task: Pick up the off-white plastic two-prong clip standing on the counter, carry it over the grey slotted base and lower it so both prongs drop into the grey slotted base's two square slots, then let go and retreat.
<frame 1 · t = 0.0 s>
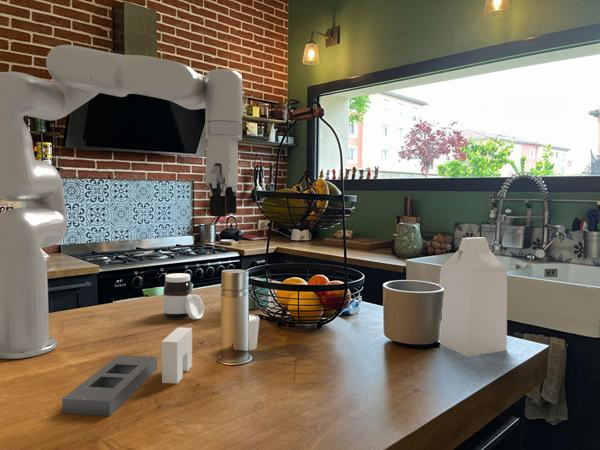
hand: (223, 214, 100), 31 cm above the worktop, tool pointing down, fingers open, 9 cm apart
grey slotted base: (115, 388, 87), on the worktop
clip: (177, 373, 94), on the worktop
spread jar: (184, 317, 135), on the worktop
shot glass: (244, 348, 110), on the worktop
milk: (469, 346, 114), on the worktop
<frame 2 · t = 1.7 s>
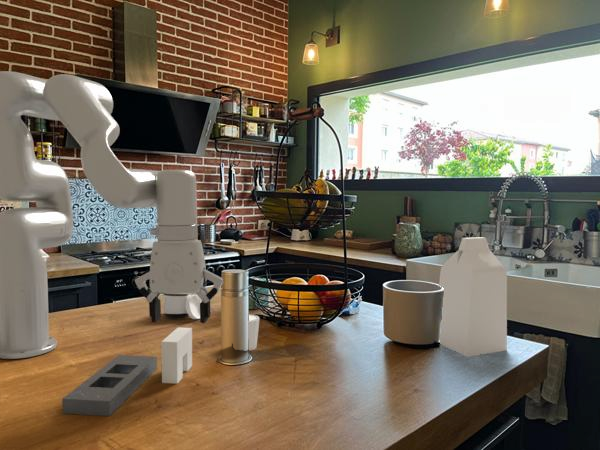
hand: (180, 320, 93), 11 cm above the worktop, tool pointing down, fingers open, 9 cm apart
nothing on the worktop moved.
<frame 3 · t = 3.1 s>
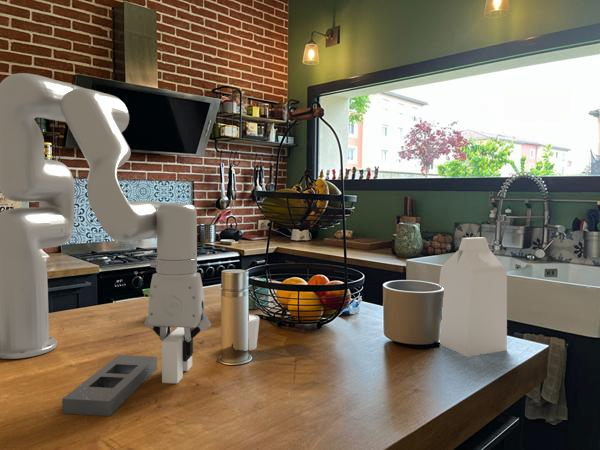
hand: (177, 357, 94), 3 cm above the worktop, tool pointing down, fingers closed on clip, 3 cm apart
clip: (177, 373, 94), on the worktop, touching gripper
everything else where it was.
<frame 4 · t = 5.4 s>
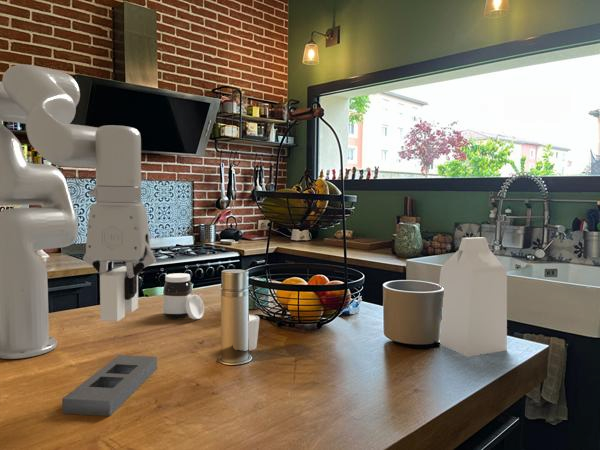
hand: (119, 296, 86), 17 cm above the worktop, tool pointing down, fingers closed on clip, 3 cm apart
clip: (120, 314, 87), point 14 cm above the worktop, touching gripper
everything else where it was.
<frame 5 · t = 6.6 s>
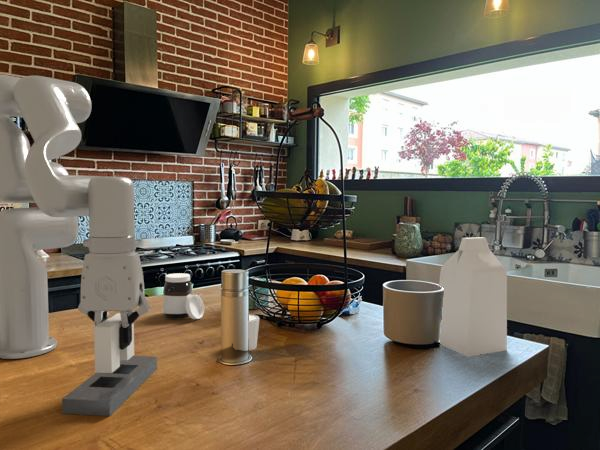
hand: (115, 345, 86), 8 cm above the worktop, tool pointing down, fingers closed on clip, 3 cm apart
clip: (115, 363, 86), point 5 cm above the worktop, touching gripper
everything else where it was.
when the fingers open (4 cm above the worktop, at t = 7.7 s): clip stays where it is, resting in grey slotted base.
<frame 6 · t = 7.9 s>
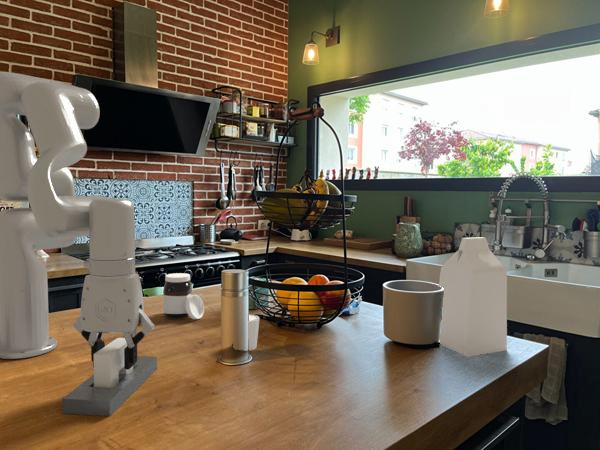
hand: (114, 365, 87), 4 cm above the worktop, tool pointing down, fingers open, 5 cm apart
clip: (114, 388, 87), resting in grey slotted base
everything else where it was.
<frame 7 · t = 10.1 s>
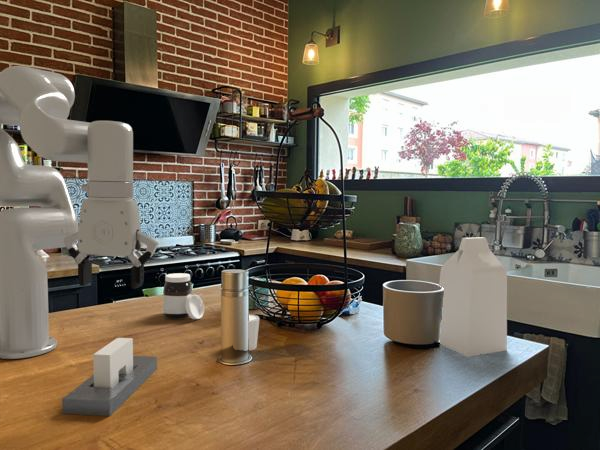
hand: (111, 285, 87), 19 cm above the worktop, tool pointing down, fingers open, 9 cm apart
nothing on the worktop moved.
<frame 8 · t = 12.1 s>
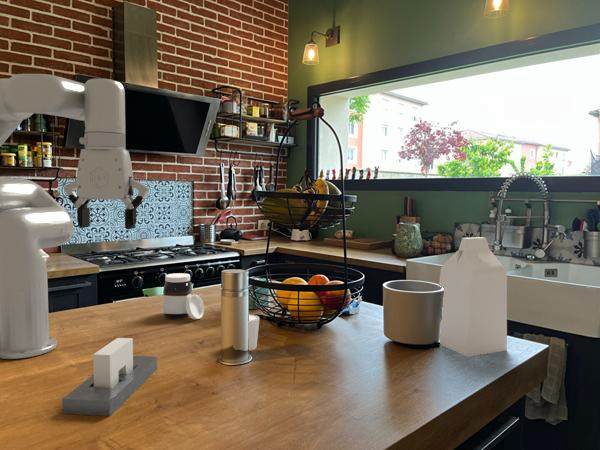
hand: (107, 227, 97), 28 cm above the worktop, tool pointing down, fingers open, 9 cm apart
nothing on the worktop moved.
at the end: clip 0.1 cm off-centre on the grey slotted base, point 0.0 cm above the grey slotted base's base; clip tilted 0°; the gripper is holding nothing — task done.
